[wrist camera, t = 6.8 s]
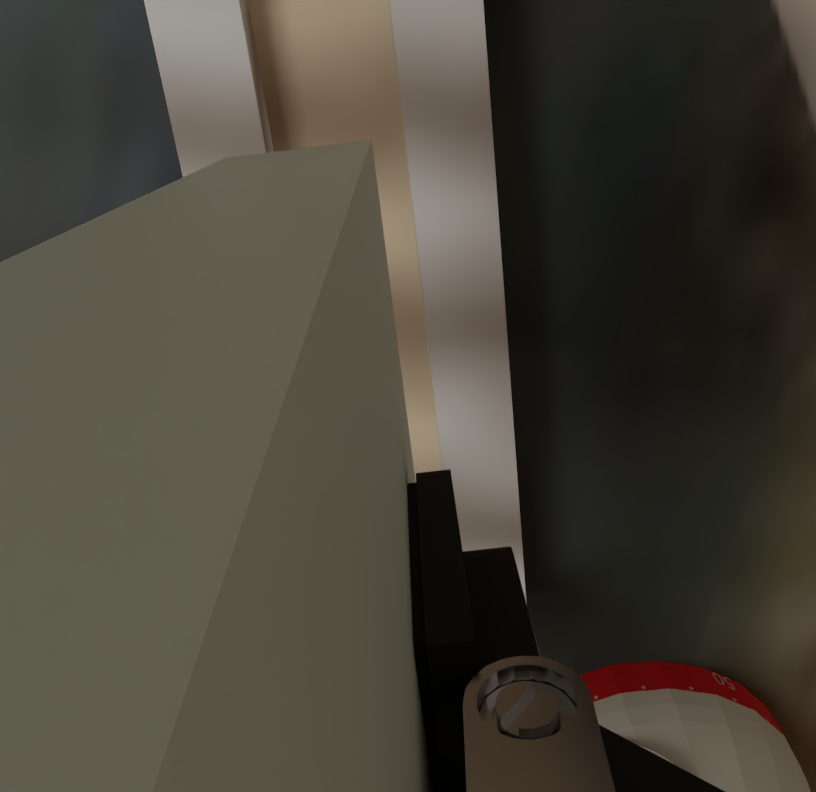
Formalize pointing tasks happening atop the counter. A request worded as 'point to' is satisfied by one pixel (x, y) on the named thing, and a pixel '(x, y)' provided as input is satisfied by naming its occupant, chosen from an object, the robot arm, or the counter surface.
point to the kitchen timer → (697, 724)
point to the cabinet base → (381, 191)
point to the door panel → (209, 493)
